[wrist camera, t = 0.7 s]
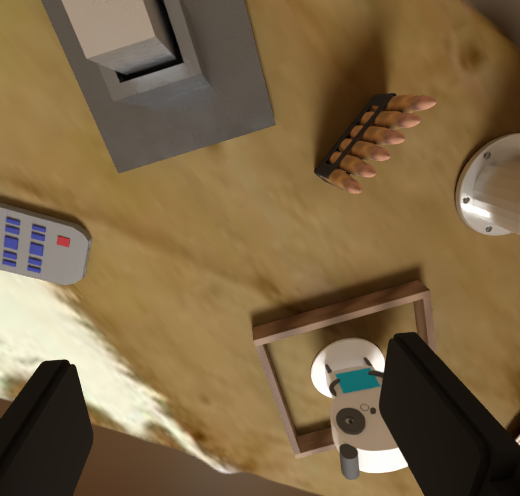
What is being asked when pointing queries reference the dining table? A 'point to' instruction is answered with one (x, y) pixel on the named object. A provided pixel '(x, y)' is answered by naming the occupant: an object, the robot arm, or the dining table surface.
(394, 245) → the dining table surface
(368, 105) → the ammunition clip
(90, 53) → the column
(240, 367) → the dining table surface
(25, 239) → the remote control
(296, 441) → the frame
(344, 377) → the panda figurine
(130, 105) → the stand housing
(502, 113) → the dining table surface
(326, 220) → the dining table surface
